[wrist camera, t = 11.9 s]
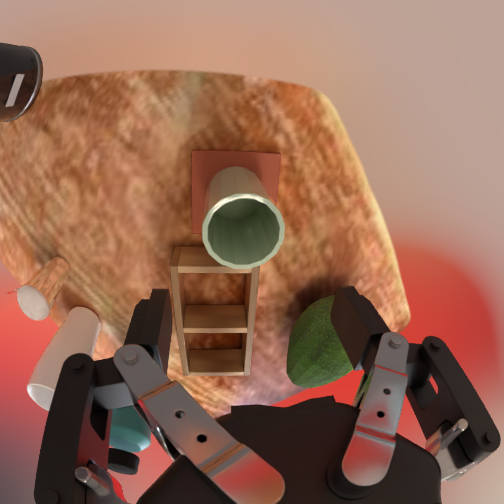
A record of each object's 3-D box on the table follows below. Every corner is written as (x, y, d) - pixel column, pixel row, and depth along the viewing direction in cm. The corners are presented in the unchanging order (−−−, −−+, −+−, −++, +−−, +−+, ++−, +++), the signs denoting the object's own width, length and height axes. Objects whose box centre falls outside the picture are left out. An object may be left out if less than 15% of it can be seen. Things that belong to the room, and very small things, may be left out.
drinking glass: (64, 294, 34) (19, 375, 20) (107, 308, 35) (73, 397, 22) (67, 328, 36) (32, 405, 23) (106, 341, 38) (80, 424, 25)
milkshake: (54, 240, 30) (14, 283, 21) (80, 271, 32) (48, 321, 24) (37, 258, 31) (-1, 301, 22) (62, 286, 33) (31, 335, 24)
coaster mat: (192, 231, 32) (192, 233, 31) (192, 150, 28) (191, 151, 27) (272, 232, 33) (273, 234, 33) (280, 153, 29) (281, 154, 28)
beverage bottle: (171, 357, 41) (161, 480, 23) (135, 364, 41) (115, 478, 23) (150, 327, 37) (126, 460, 20) (113, 336, 38) (79, 457, 20)
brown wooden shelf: (185, 352, 40) (183, 375, 36) (175, 246, 32) (169, 266, 28) (246, 352, 41) (249, 375, 38) (254, 246, 34) (259, 266, 30)
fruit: (314, 362, 45) (331, 410, 36) (260, 351, 42) (270, 406, 33) (368, 291, 39) (401, 337, 30) (312, 270, 36) (340, 322, 27)
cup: (206, 220, 31) (202, 268, 22) (207, 165, 28) (202, 192, 19) (262, 221, 32) (280, 268, 23) (266, 167, 29) (288, 195, 20)
